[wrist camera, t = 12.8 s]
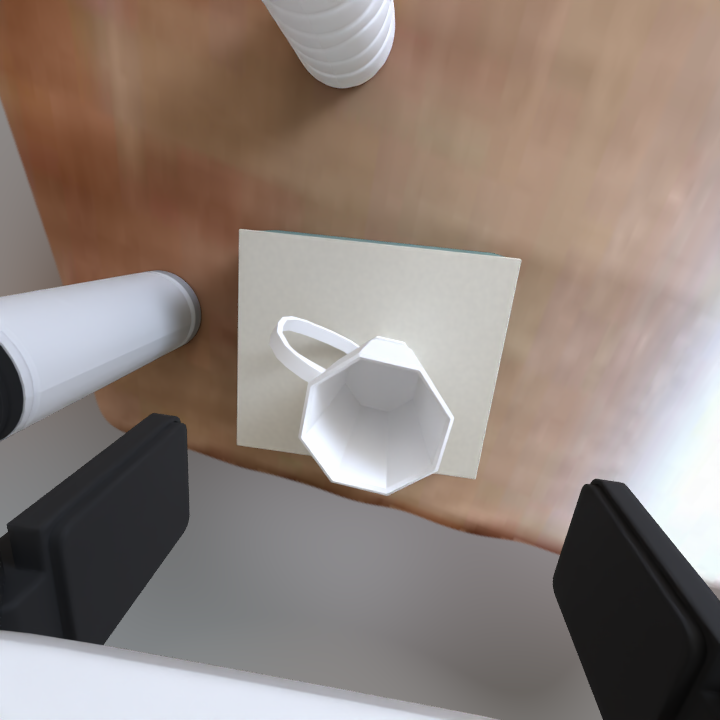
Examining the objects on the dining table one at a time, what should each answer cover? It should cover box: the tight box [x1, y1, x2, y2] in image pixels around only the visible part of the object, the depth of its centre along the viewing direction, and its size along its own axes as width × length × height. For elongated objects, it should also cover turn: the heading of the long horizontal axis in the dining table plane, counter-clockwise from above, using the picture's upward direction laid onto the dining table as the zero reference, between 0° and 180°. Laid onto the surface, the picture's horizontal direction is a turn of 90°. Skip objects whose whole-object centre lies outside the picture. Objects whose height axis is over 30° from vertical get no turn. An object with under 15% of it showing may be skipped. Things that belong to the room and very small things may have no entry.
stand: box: [237, 229, 521, 479], centre depth 30 cm, size 14×16×7 cm
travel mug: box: [0, 270, 201, 441], centre depth 25 cm, size 6×7×20 cm
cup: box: [269, 316, 454, 496], centre depth 23 cm, size 7×10×8 cm
